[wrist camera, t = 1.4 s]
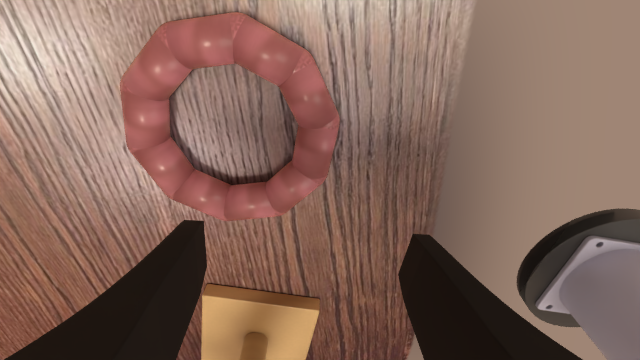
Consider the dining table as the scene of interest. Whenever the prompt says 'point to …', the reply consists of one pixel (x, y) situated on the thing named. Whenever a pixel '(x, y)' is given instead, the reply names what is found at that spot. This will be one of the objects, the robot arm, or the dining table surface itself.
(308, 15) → the dining table surface
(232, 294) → the stand
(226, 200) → the ring
